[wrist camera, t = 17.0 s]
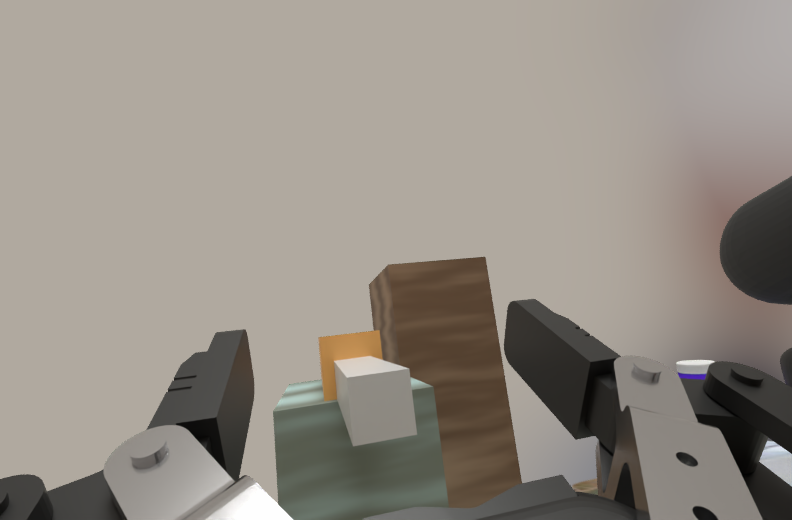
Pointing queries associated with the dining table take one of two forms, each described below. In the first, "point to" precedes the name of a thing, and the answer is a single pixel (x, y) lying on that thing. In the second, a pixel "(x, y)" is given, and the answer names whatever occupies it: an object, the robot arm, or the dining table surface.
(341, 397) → the white and orange block
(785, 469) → the dining table surface
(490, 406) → the stand
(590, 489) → the dining table surface
